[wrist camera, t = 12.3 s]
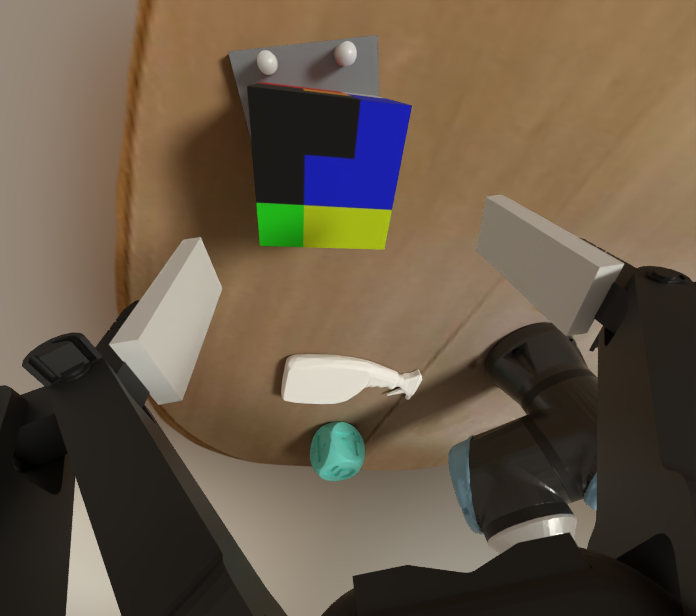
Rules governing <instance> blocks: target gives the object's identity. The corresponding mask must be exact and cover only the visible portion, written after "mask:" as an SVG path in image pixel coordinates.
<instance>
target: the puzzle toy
mask: <svg viewBox="0 0 696 616" xmlns="http://www.w3.org/2000/svg"><path fill="white" fill-rule="evenodd" d="M247 93H248V105H249V118H250V130H251V142H252V155H253V167H254V179H255V192H256V204H257V216H258V229H259V241H260V246H284V247H318V248H352V249H384V248H385V243H386V238H387V232H388V227H389V222H390V217H391V212H392V207H393V201H394V196H395V191H396V186H397V181H398V175H399V170H400V165H401V160H402V155H403V149H404V144H405V139H406V134H407V129H408V123H409V118H410V113H411V108H412V106H411V105H408V104H404V103H400V102H397V101H393V100H389V99H386V98H382V97H378V96H372V95H363V94H355V93H347V92H339V91H331V90H322V89H314V88H306V87H298V86H290V85H281V84H273V83H265V82H260V83H256V84H253V85H249V86H247Z"/></svg>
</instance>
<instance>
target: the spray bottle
mask: <svg viewBox="0 0 696 616" xmlns="http://www.w3.org/2000/svg"><path fill="white" fill-rule="evenodd" d="M421 381H422V376H421V374H420V371H419V369H417V370H415V371H413V372H410V373H403V374H398V372H396V371H394V370H391V369H389V368H386V367H384V366H381V365H379V364H376V363H373V362H371V361H368V360H364V359H359V358H354V357H349V356H341V355H331V354H295V355H291V356H289V357H288V358H287V360H286V363H285V368H284V373H283V378H282V388H281V395H282V398H283V399H284V400H285V401H289V402H294V403H310V404H336V403H340V402H344V401H347V400H348V399H350V398H352V397H353V396H355V395H356V394H358V393H359V392H360V391H361V390H362V389H363V388H365V387H369V386H370V387H375V386H378V387H380V388H382V387H388V388H389V389H394V388H395V387H400V388H399V389H396V390H394V391H391V392H389V393H387V396H389V395H393V394H399V393H406V395H405V398H406V399H410V398H411V396H412V395H414V393H415V392H416V390H417V388H418V386H419V385H420V383H421Z"/></svg>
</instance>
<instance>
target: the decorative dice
mask: <svg viewBox="0 0 696 616" xmlns="http://www.w3.org/2000/svg"><path fill="white" fill-rule="evenodd" d="M364 457H365V445H364V441H363V438H362V436H361V435H360V433H359V432H358V430H357V429H356V428H355V427H353V426H352V425H350V424H348V423H346V422H332V423H328V424H325V425H323V426H322V427H320V428H319V429H318V430H317V432H316V433H315V435H314V438H313V440H312V444H311V449H310V461H311V465H312V467H313V469H314V470H315V472H316V473H317V474H318V475H319V476H320V477H321V478H322V479H325V480H328V481H340V480H344V479H348V478H350V477H353V476H354V475H356V474H357V473H358V472H359V470H360V469H361V467H362V465H363V462H364Z"/></svg>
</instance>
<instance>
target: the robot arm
mask: <svg viewBox="0 0 696 616" xmlns="http://www.w3.org/2000/svg"><path fill="white" fill-rule="evenodd" d="M476 251H477V252H478V253H479V254H480V255H481V256H483V257H484V258H485V259H486V260H487V261H488V262H489V263H490V264H491V265H492V266H493V267H494V268H495V269H496V270H497V271H498V272H499V273H500V274H501V275H502V276H503V277H504V278H506V279H507V280H508V281H509V282H510V283H511V284H512V285H513V286H514V287H515V288H516V289H517V290H518V291H519V292H520V293H521V294H522V295H523V296H524V297H525V298H526V299H528V300H529V301H530V302H531V303H532V304H533V305H534V306H535V307H536V308H537V309H538V310H539V311H540V312H541V313H542V314H543V315H544V316H545V317H546V318H547V319H548V320H550V321H551V322H552V323H538V324H533V325H530V326H527V327H524V328H521V329H519V330H517V331H515V332H513V333H511V334H510V335H508V336H507V337H505V338H504V339H503V340H501V341H500V342H499V343H498V344H497V345H496V346H495V347H494V348H493V349H492V351H491V352H490V353H489V355H488V357H487V359H486V362H485V370H486V373H487V374H488V376H489V377H490V379H491V380H492V382H493V383H494V384H495V385H496V386H497V387H499V388H500V389H502V390H503V391H504V392H505V393H506V394H507V395H509V396H510V397H511V398H512V399H513V400H515V401H516V402H517V403H518V404H520V406H521V407H522V408H523V410H524V411H525V413H526V414H527V415H526V416H523V417H521V418H518V419H516V420H513V421H511V422H508V423H506V424H503V425H501V426H498V427H496V428H493V429H491V430H488V431H485V432H483V433H480V434H478V435H475V436H473V435H472V436H470V437H469V438H468V439H467V440H465V441H462V442H460V443H458V444H456V445H454V446H453V447H452V448H451V450H450V452H449V458H448V462H449V470H450V475H451V479H452V483H453V487H454V490H455V494H456V496H457V500H458V503H459V505H460V507H461V508H462V512H463V515H464V517H465V520H466V522H467V524H468V525H469V527H470V529H471V530H472V531H473V532H475V533H479V534H483V533H484V535H485V538H486V540H487V542H488V545H489V547H491V548H492V549H494V550H495V551H497V552H498V553H500V555H498V556H497V557H495V558H493V559H492V560H490V561H489V562H488V563H486V564H484V565H483V566H481V567H480V568H478V569H476V570H475V571H473V572H470V573H462V572H454V571H447V570H440V569H432V568H425V567H418V566H411V565H405V566H400V567H395V568H390V569H386V570H380V571H375V572H370V573H365V574H360V575H356V576H353V584H354V588H353V589H352V590H350V591H348V592H347V593H345V594H344V595H342V596H341V597H340V598H339V599H337V600H336V602H334V603H333V604H332V605H331V606H330V607H329V608H328V609H327V610H326V611H325V612H324V613H323V614H322V615H321V616H696V282H692V280H691V279H690V278H689V277H687V276H686V275H684V274H682V273H680V272H677V271H674V270H672V269H667V268H663V267H656V266H643V267H639V268H635V267H633V266H632V265H630V264H628V263H626V262H624V261H623V260H621V259H619V258H617V257H615V256H614V255H612V254H610V253H608V252H606V253H605V250H603V249H601V248H599V247H596V245H594V244H592V243H590V242H588V241H587V240H585V239H582V238H579V237H576V236H575V235H573V234H571V233H569V232H568V231H566V230H564V229H562V228H560V227H559V226H557V225H555V224H553V223H552V222H550V221H548V220H546V219H544V218H543V217H541V216H539V215H537V214H536V213H534V212H532V211H530V210H528V209H527V208H525V207H523V206H521V205H520V204H518V203H516V202H514V201H512V200H511V199H509V198H507V197H505V196H504V195H496V196H489V197H486V201H485V206H484V211H483V216H482V222H481V227H480V232H479V238H478V243H477V248H476ZM221 291H222V287H221V284H220V282H219V279H218V277H217V275H216V272H215V270H214V268H213V265H212V263H211V261H210V258H209V256H208V253H207V251H206V249H205V246H204V244H203V242H202V239H201V237H198V238H191V239H184V240H182V242H181V243H180V245H179V246H178V247H177V249H176V250H175V252H174V253H173V255H172V256H171V257H170V259H169V260H168V262H167V263H166V264H165V266H164V267H163V269H162V270H161V271H160V273H159V274H158V276H157V277H156V279H155V280H154V281H153V283H152V284H151V286H150V287H149V288H148V290H147V291H146V293H145V294H144V295H143V297H142V298H141V300H138V301H135V302H133V303H132V304H131V305H129V306H128V307H127V308H126V309H124V310H123V311H122V313H121V314H120V315H119V317H118V318H117V319H116V322H114V323H113V325H112V326H111V328H110V330H108V331H107V333H106V334H105V335H104V337H103V338H102V339H101V341H100V342H99V344H98V345H97V346H96V347H94V346H93V345H92V344H91V343H90V341H89V340H88V339H87V338H86V337H85V336H84V335H83V334H81V333H68V334H64V335H60V336H57V337H55V338H52V339H50V340H48V341H46V342H45V343H43V344H41V345H39V346H38V347H36V348H35V349H34V350H33V351H31V352H30V353H29V354H28V355H27V356H26V357H25V359H24V360H23V363H22V366H23V367H24V368H25V369H26V370H27V371H28V372H29V373H30V374H31V375H33V376H34V377H35V378H36V379H37V380H38V381H40V382H41V383H42V384H43V385H44V387H42V388H39V389H36V390H33V391H31V392H28V393H25V394H22V395H19V394H18V393H17V392H15V391H14V390H13V389H12V388H10V387H8V386H0V616H65V615H66V602H67V588H68V574H69V558H70V545H71V531H72V516H73V501H74V487H75V476H76V479H77V482H78V485H79V488H80V491H81V495H82V498H83V501H84V503H85V507H86V509H87V513H88V516H89V519H90V522H91V524H92V528H93V531H94V534H95V537H96V540H97V543H98V546H99V549H100V552H101V555H102V558H103V561H104V564H105V567H106V570H107V573H108V576H109V579H110V582H111V585H112V588H113V591H114V594H115V597H116V600H117V604H118V607H119V609H120V613H121V616H287V615H286V613H285V612H284V610H283V609H282V608H281V606H280V605H279V604H278V603H277V601H276V600H275V599H274V597H273V596H272V595H271V594H270V592H269V591H268V590H267V588H266V587H265V585H264V584H263V583H262V581H261V579H260V578H259V576H258V575H257V574H256V572H255V570H254V569H253V567H252V566H251V564H250V563H249V561H248V560H247V558H246V557H245V555H244V554H243V552H242V551H241V549H240V548H239V546H238V545H237V543H236V542H235V540H234V539H233V537H232V535H231V534H230V532H229V531H228V529H227V528H226V526H225V525H224V523H223V522H222V520H221V519H220V517H219V516H218V514H217V513H216V511H215V510H214V508H213V507H212V505H211V504H210V502H209V500H208V499H207V497H206V496H205V494H204V493H203V491H202V490H201V488H200V487H199V485H198V484H197V482H196V481H195V479H194V478H193V476H192V475H191V473H190V472H189V470H188V469H187V467H186V465H185V464H184V463H183V461H182V459H181V458H180V456H179V455H178V453H177V452H176V450H175V449H174V447H173V446H172V444H171V443H170V441H169V440H168V438H167V437H166V435H165V434H164V432H163V431H162V429H161V428H160V426H159V425H158V423H157V421H156V420H155V418H154V417H153V415H152V414H151V412H150V411H149V410H148V408H147V407H146V406H145V405H144V404H145V401H146V399H147V397H148V395H149V394H150V395H151V396H152V398H153V399H154V400H155V401H156V403H157V404H158V405H160V404H166V403H172V402H178V401H182V400H183V397H184V395H185V392H186V389H187V386H188V383H189V381H190V378H191V375H192V372H193V369H194V367H195V364H196V361H197V358H198V355H199V353H200V350H201V347H202V344H203V341H204V339H205V336H206V333H207V330H208V327H209V324H210V322H211V319H212V316H213V313H214V310H215V308H216V305H217V302H218V299H219V296H220V294H221ZM594 319H596V320H597V321H598V322H599V323H601V324H602V325H603V327H602V328H601V330H600V332H599V334H598V335H597V337H596V339H595V341H594V342H593V344H592V346H591V348H590V350H589V351H594V349H595V348H597V347H598V378H597V377H596V376H595V375H594V374H593V373H592V372H591V371H590V370H589V368H588V367H587V365H586V363H585V361H584V359H583V356H582V354H581V352H580V350H579V349H578V347H577V345H576V342H575V340H574V338H573V337H572V336H571V335H577V334H583V333H587V332H588V330H589V328H590V326H591V325H592V323H593V321H594ZM580 499H584V502H585V503H586V504H587V505H588V506H590V507H591V508H592V509H593V510H597V511H596V523H595V527H594V530H593V532H592V535H591V537H590V540H589V543H588V547H587V549H584V548H580V547H579V546H578V544H577V542H576V541H575V537H574V536H575V530H576V524H577V519H576V517H575V516H574V514H573V512H572V511H571V509H570V508H569V506H568V504H569V503H572V502H575V501H577V500H580Z"/></svg>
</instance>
